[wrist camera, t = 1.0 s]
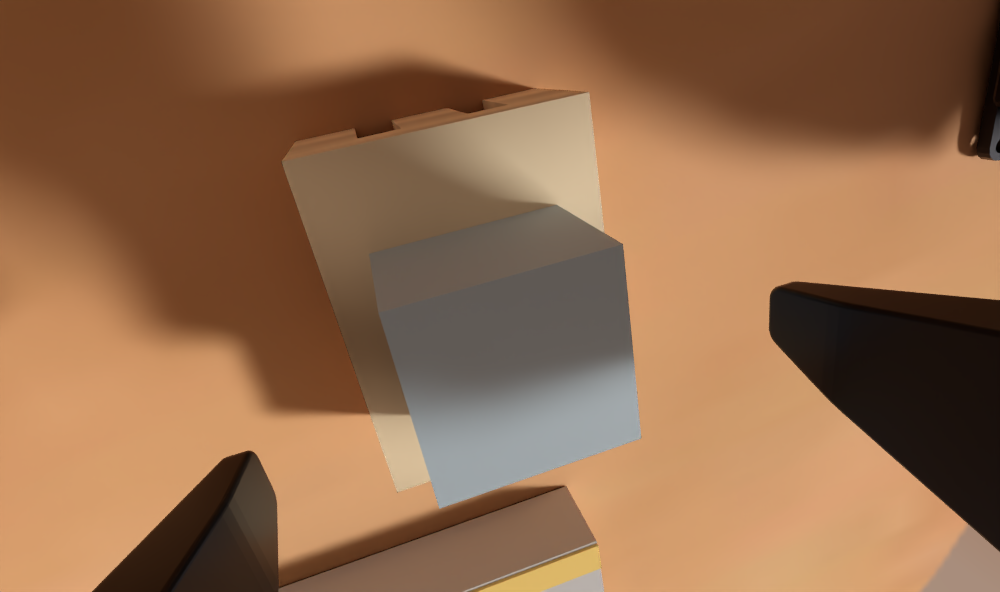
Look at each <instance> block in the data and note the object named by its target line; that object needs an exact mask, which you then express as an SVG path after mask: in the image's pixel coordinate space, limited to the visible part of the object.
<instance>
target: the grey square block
mask: <svg viewBox="0 0 1000 592" xmlns="http://www.w3.org/2000/svg"><path fill="white" fill-rule="evenodd" d="M369 257H370V263H371V269H372V276H373V282H374V288H375V294H376V301H377V307H378V313H379V316H380V319H381V323H382V326H383V329H384V332H385V335H386V339H387V342H388V345H389V348H390V351H391V355H392V358H393V361H394V364H395V368H396V371H397V374H398V377H399V380H400V384H401V387H402V390H403V393H404V396H405V400H406V403H407V406H408V409H409V412H410V416H411V419H412V422H413V425H414V428H415V432H416V435H417V438H418V441H419V444H420V448H421V451H422V454H423V457H424V460H425V464H426V467H427V470H428V473H429V477H430V480H431V483H432V486H433V489H434V493H435V496H436V499H437V502H438V505H439V509H440V508H443V507H446V506H449V505H452V504H455V503H457V502H460V501H463V500H466V499H469V498H472V497H475V496H478V495H480V494H483V493H486V492H489V491H492V490H495V489H498V488H501V487H503V486H506V485H509V484H512V483H515V482H518V481H521V480H523V479H526V478H529V477H532V476H535V475H538V474H541V473H544V472H546V471H549V470H552V469H555V468H558V467H561V466H564V465H567V464H569V463H572V462H575V461H578V460H581V459H584V458H587V457H589V456H592V455H595V454H598V453H601V452H604V451H607V450H610V449H612V448H615V447H618V446H621V445H624V444H627V443H630V442H633V441H635V440H638V439H641V431H640V420H639V410H638V399H637V389H636V378H635V367H634V357H633V346H632V335H631V325H630V314H629V303H628V293H627V282H626V272H625V261H624V250H623V244H622V243H620V242H618V241H617V240H615V239H613V238H612V237H610V236H608V235H607V234H605V233H603V232H602V231H600V230H598V229H597V228H595V227H593V226H592V225H590V224H588V223H587V222H585V221H583V220H582V219H580V218H578V217H577V216H575V215H573V214H572V213H570V212H568V211H566V210H565V209H563V208H561V207H560V206H558V205H554V206H550V207H546V208H542V209H538V210H535V211H531V212H527V213H523V214H519V215H515V216H512V217H508V218H504V219H500V220H496V221H492V222H489V223H485V224H481V225H477V226H473V227H469V228H466V229H462V230H458V231H454V232H450V233H446V234H443V235H439V236H435V237H431V238H427V239H423V240H420V241H416V242H412V243H408V244H404V245H400V246H397V247H393V248H389V249H385V250H381V251H377V252H374V253H370V254H369Z"/></svg>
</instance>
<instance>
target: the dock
mask: <svg viewBox="0 0 1000 592" xmlns="http://www.w3.org/2000/svg"><path fill="white" fill-rule="evenodd" d="M279 592H604V587H603V581H602V574H601V561H600V555H599V548H598V545H597V542H596V539H595V538H594V536H593V534H592V532H591V530H590V528H589V527H588V525H587V523H586V521H585V519H584V518H583V516H582V514H581V512H580V510H579V508H578V507H577V505H576V503H575V501H574V499H573V498H572V496H571V494H570V492H569V490H568V488H567V487H566V486H565V487H562V488H560V489H557V490H554V491H551V492H548V493H545V494H543V495H540V496H537V497H534V498H531V499H529V500H526V501H523V502H520V503H517V504H515V505H512V506H509V507H506V508H503V509H501V510H498V511H495V512H492V513H489V514H486V515H484V516H481V517H478V518H475V519H472V520H470V521H467V522H464V523H461V524H458V525H456V526H453V527H450V528H447V529H444V530H441V531H439V532H436V533H433V534H430V535H427V536H425V537H422V538H419V539H416V540H413V541H411V542H408V543H405V544H402V545H399V546H397V547H394V548H391V549H388V550H385V551H382V552H380V553H377V554H374V555H371V556H368V557H366V558H363V559H360V560H357V561H354V562H352V563H349V564H346V565H343V566H340V567H338V568H335V569H332V570H329V571H326V572H323V573H321V574H318V575H315V576H312V577H309V578H307V579H304V580H301V581H298V582H295V583H293V584H290V585H287V586H284V587H281V588H279Z"/></svg>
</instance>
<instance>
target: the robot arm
mask: <svg viewBox="0 0 1000 592" xmlns="http://www.w3.org/2000/svg"><path fill="white" fill-rule="evenodd" d="M977 154H978V157H980V158H981V159H987V160H1000V23H999V28H998V34H997V39H996V45H995V50H994V56H993V61H992V67H991V72H990V78H989V84H988V89H987V95H986V100H985V106H984V111H983V117H982V122H981V128H980V133H979V139H978V144H977ZM769 331H770V335H771V337H772V339H773V341H774V342H775V343H776V344H777V345H778V346H779V348H780V349H781V350H782V351H783V352H784V353H785V354H786V355H787V356H788V357H789V358H790V359H791V360H792V361H793V363H794V364H795V365H796V366H797V367H798V368H799V369H800V370H801V371H802V372H803V373H804V374H805V375H806V376H807V378H808V379H809V380H810V381H811V382H812V383H813V384H814V385H815V386H816V387H817V388H818V389H819V390H820V391H821V392H822V393H823V395H824V396H825V397H826V398H827V399H828V400H829V401H830V402H831V403H832V404H834V405H835V406H836V407H837V408H838V409H839V410H840V411H841V412H842V413H843V414H844V415H846V416H847V417H848V418H849V419H850V420H851V421H852V422H853V423H855V424H856V425H857V426H858V427H859V428H860V429H861V430H862V431H864V432H865V433H866V434H867V435H868V436H869V437H870V438H872V439H873V440H874V441H875V442H876V443H877V444H878V445H879V446H881V447H882V448H883V449H884V450H885V451H886V452H887V453H888V454H890V455H891V456H892V457H893V458H894V459H895V460H896V461H898V462H899V463H900V464H901V465H902V466H903V467H904V468H905V469H907V470H908V471H909V472H910V473H911V474H912V475H913V476H915V477H916V478H917V479H918V480H919V481H920V482H921V483H922V484H924V485H925V486H926V487H927V488H928V489H929V490H930V491H931V492H933V493H934V494H935V495H936V496H937V497H938V498H939V499H941V500H942V501H943V502H944V503H945V504H946V505H947V506H948V507H950V508H951V509H952V510H953V511H954V512H955V513H956V514H957V515H959V516H960V517H961V518H962V519H963V520H964V521H965V522H967V523H968V524H969V525H970V526H971V527H972V528H973V529H974V530H976V531H977V532H978V533H979V534H980V535H981V536H982V537H984V538H985V539H986V540H987V541H988V542H989V543H990V544H991V545H993V546H994V547H995V548H996V549H997V550H998V551H1000V300H991V299H981V298H970V297H959V296H948V295H937V294H927V293H916V292H905V291H894V290H883V289H873V288H862V287H851V286H840V285H829V284H819V283H808V282H791V283H787V284H784V285H781V286H778V287H775V288H774V289H773V290H772V292H771V294H770V311H769ZM92 592H279V579H278V527H277V501H276V496H275V492H274V490H273V487H272V485H271V483H270V481H269V479H268V477H267V475H266V473H265V471H264V469H263V466H262V464H261V462H260V460H259V458H258V456H257V455H256V454H255V453H254V452H252V451H245V452H242V453H238V454H235V455H232V456H229V457H226V458H224V459H223V460H221V461H220V462H219V463H218V464H217V465H216V467H215V468H214V469H213V470H212V471H211V472H210V473H209V474H208V475H207V476H206V477H205V478H204V479H203V480H202V481H201V482H200V483H199V484H198V485H197V486H196V487H195V488H194V489H193V490H192V491H191V492H190V493H189V494H188V495H187V496H186V497H185V498H184V499H183V500H182V501H181V502H180V503H179V504H178V505H177V506H176V507H175V508H174V509H173V510H172V511H171V512H170V513H169V514H168V515H167V516H166V517H165V518H164V519H163V520H162V521H161V522H160V523H159V524H158V525H157V526H156V527H155V528H154V529H153V530H152V531H151V532H150V533H149V534H148V535H147V536H146V537H145V538H144V539H143V541H142V542H141V543H140V544H139V545H138V546H137V547H136V548H135V549H134V550H133V551H132V552H131V553H130V554H129V555H128V556H127V557H126V558H125V559H124V560H123V561H122V562H121V563H120V564H119V565H118V566H117V567H116V568H115V569H114V570H113V571H112V572H111V573H110V574H109V575H108V576H107V577H106V578H105V579H104V580H103V581H102V582H101V583H100V584H99V585H98V586H97V587H96V588H95V589H94V590H93V591H92Z"/></svg>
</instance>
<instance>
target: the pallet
mask: <svg viewBox="0 0 1000 592" xmlns="http://www.w3.org/2000/svg"><path fill="white" fill-rule="evenodd" d="M482 102H483V108H484V110H482V111H478V112H473V113H469V114H466V113H463V112H460V111H456V110H453V109H450V108H444V109H439V110H435V111H430V112H426V113H421V114H417V115H412V116H408V117H403V118H399V119H394V120H392V124H393V128H394V130H393V131H389V132H384V133H380V134H375V135H371V136H366V137H362V138H357V135H356V132H355V128H353V129H349V130H344V131H340V132H335V133H331V134H326V135H322V136H317V137H313V138H308V139H304V140H299V141H295V142H294V144H293V145H292V147H291V148H290V150H289V151H288V153H287V154H286V156H285V157H284V158H283V160H282V161H281V162H282V165H283V168H284V171H285V174H286V177H287V179H288V182H289V185H290V188H291V191H292V194H293V196H294V199H295V202H296V205H297V208H298V211H299V214H300V216H301V219H302V222H303V225H304V228H305V231H306V234H307V236H308V239H309V242H310V245H311V248H312V251H313V254H314V256H315V259H316V262H317V265H318V268H319V271H320V274H321V276H322V279H323V282H324V285H325V288H326V291H327V293H328V296H329V299H330V302H331V305H332V308H333V311H334V313H335V316H336V319H337V322H338V325H339V328H340V331H341V333H342V336H343V339H344V342H345V345H346V348H347V351H348V353H349V356H350V359H351V362H352V365H353V368H354V371H355V373H356V376H357V379H358V382H359V385H360V388H361V390H362V393H363V396H364V399H365V402H366V405H367V408H368V410H369V413H370V416H371V419H372V422H373V425H374V428H375V430H376V433H377V436H378V439H379V442H380V445H381V448H382V450H383V453H384V456H385V459H386V462H387V465H388V467H389V470H390V473H391V476H392V479H393V482H394V485H395V487H396V490H397V492H400V491H403V490H406V489H409V488H412V487H415V486H418V485H421V484H424V483H427V482H430V481H431V480H430V477H429V473H428V470H427V467H426V464H425V460H424V457H423V454H422V451H421V448H420V444H419V441H418V438H417V435H416V432H415V428H414V425H413V422H412V419H411V416H410V412H409V409H408V406H407V403H406V400H405V396H404V393H403V390H402V387H401V384H400V380H399V377H398V374H397V371H396V368H395V364H394V361H393V358H392V355H391V351H390V348H389V345H388V342H387V339H386V335H385V332H384V329H383V326H382V323H381V319H380V316H379V313H378V307H377V301H376V294H375V288H374V282H373V276H372V269H371V263H370V257H369V254H370V253H374V252H377V251H381V250H385V249H389V248H393V247H397V246H400V245H404V244H408V243H412V242H416V241H420V240H423V239H427V238H431V237H435V236H439V235H443V234H446V233H450V232H454V231H458V230H462V229H466V228H469V227H473V226H477V225H481V224H485V223H489V222H492V221H496V220H500V219H504V218H508V217H512V216H515V215H519V214H523V213H527V212H531V211H535V210H538V209H542V208H546V207H550V206H554V205H558V206H560V207H561V208H563V209H565V210H566V211H568V212H570V213H572V214H573V215H575V216H577V217H578V218H580V219H582V220H583V221H585V222H587V223H588V224H590V225H592V226H593V227H595V228H597V229H598V230H600V231H602V232H603V233H604V224H603V215H602V205H601V196H600V187H599V178H598V169H597V159H596V150H595V141H594V132H593V122H592V113H591V104H590V95H589V92H581V91H566V90H551V89H536V88H534V89H530V90H525V91H521V92H516V93H512V94H507V95H503V96H498V97H494V98H489V99H485V100H482Z"/></svg>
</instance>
